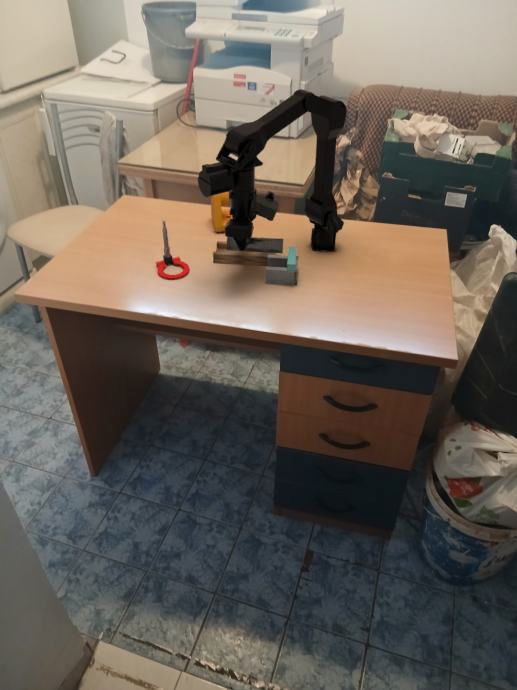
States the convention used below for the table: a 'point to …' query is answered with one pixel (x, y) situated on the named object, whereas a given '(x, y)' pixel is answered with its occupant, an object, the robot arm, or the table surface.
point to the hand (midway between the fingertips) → (243, 246)
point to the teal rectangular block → (291, 259)
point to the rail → (239, 256)
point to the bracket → (220, 211)
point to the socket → (280, 271)
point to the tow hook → (170, 260)
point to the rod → (257, 245)
